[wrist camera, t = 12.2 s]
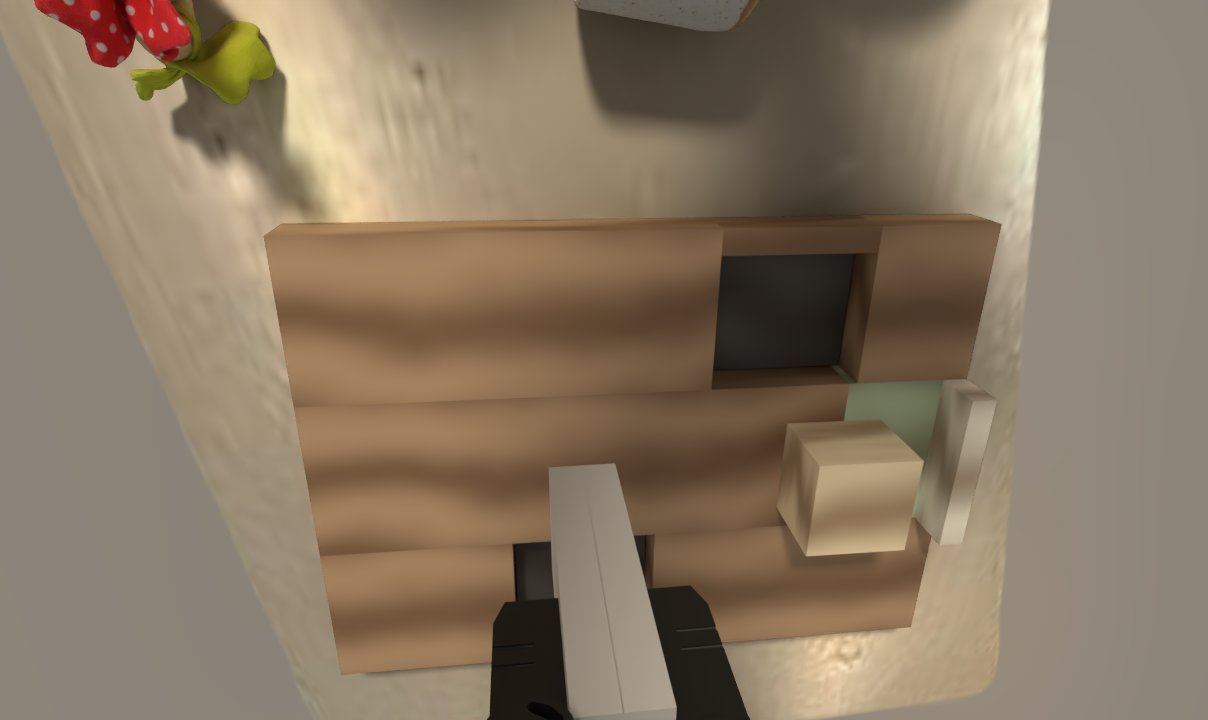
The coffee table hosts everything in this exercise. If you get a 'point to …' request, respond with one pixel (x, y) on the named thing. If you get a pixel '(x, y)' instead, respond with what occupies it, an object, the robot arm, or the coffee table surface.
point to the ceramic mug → (678, 11)
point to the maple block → (847, 487)
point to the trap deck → (618, 407)
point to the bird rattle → (167, 43)
